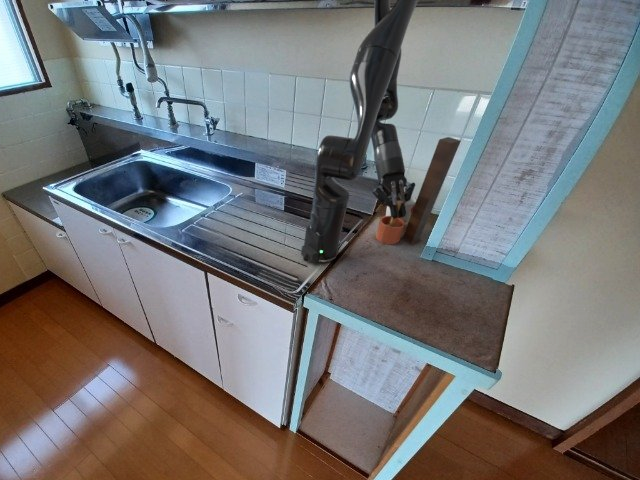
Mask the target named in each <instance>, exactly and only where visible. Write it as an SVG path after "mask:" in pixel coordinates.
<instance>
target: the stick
mask: <svg viewBox="0 0 640 480" xmlns="http://www.w3.org/2000/svg"><path fill="white" fill-rule="evenodd" d="M401 204H402V201H399V200H398V201H397V203H396V205H397V206H398V211H399V209H400V206H401ZM395 221H396V219H393V217H392V218H391V221H390V223H389V224H387V225H388V226H391V227H396V225H395Z"/></svg>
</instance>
